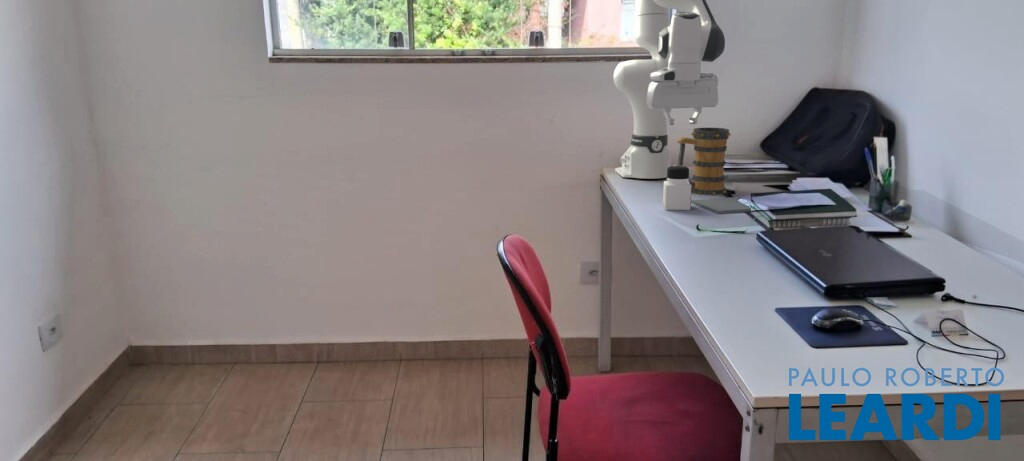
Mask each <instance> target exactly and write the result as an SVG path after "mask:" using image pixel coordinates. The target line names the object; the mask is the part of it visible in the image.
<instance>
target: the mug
mask: <svg viewBox="0 0 1024 461" xmlns="http://www.w3.org/2000/svg"><path fill="white" fill-rule="evenodd" d="M690 135H691V136H692V137H685V136H684V137H683V136H682V137H680V138H679V139H677V140H676V142H677V144H680V145H679V146H680V147H679V154H678V159H677V160H678V162H677V165H679V166H684V158H685V157H684V156H685V150H686V144H688V145H693V150H694V154H695V155H694V156H695V157H694V160H693V161H692V164H693V165H694V172H693V175H692V181H691V180H690V181H688V182H689V183H690V184H691V186H692V192H691V193H694V194H697V195H712V196H713V195H714V196H715V195H720V194H722V195H724V194H727V193H726V192H727V190H726V189H727V188H726V187H725V181H726V176H725V174H724V172H725V171H724V170H725V167H724V166H726V165H727V162H726V160H725V157H726V156H725V155H726V154H725V153H726V152H727V148H728V146H727V141H728V139H729V137H730V136H731V135H732V133H731V132H730V129H728V128H723V127H722V128H721V127H697V128H693V131H692V133H690Z"/></svg>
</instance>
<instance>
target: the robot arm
mask: <svg viewBox="0 0 1024 461" xmlns="http://www.w3.org/2000/svg"><path fill="white" fill-rule="evenodd" d="M669 9H670V10H676V11H679V12H676V13H674V14H673V15H672V16H671V19H670V18H669V14H670V13H669V12H670V11H669ZM669 19H670V20H669ZM669 22H670V23H669ZM634 39H635V42H636V44H637V45H638V46H639V47H641V48H642V49H644V50H647V51H648V52H649V54H650V56H651V59H648V58H647V59H631V60H630V59H629V60H624V61H621V62H619V63H618V64H617V65H616V67H615V68H614V72H613V76H612V78H613V79H612V80H613V83H614V86H615V88H616V89H617V90H618V91H619V92H621V93H622V94H623V95H624V96H625V97H626V99H627V100H628V102H629V103H630V107H631V109H632V114H633V115H632V116H633V117H632V118H633V134H632V135H631V138H630V146H629V147H628V148H627V150H626V151H625V152H624V153H623V154H622V156H620V158H619V162H620V163H621V166H620V167H615V170H614V171H615V172H616V173H618V175H620V176H621V177H623V178H633V179H634V178H635V179H649V180H651V179H652V180H654V179H664V178H666V179H667V168H668V167H670V166H672V159H671V150H670V149H668V147H667V146H668V141H669V137H668V134H667V132H668V131H667V129H668V126H674V125H675V119H674V118H672V117H671V114H670V113H672V109H692V110H693V114H692V117H689V125H697V124H698V119H699V117H700V115H701V113H702V112H703V110H702V109H703V108H715V107H717V106H718V105H719V91H718V85H719V78H718V77H717V75H715V73H711V72H709V73H705V72H704V73H702V72H701V71H702V62H708V63H711V62H714V61H716V60H717V59H718V58H719V57H720V56H721V55H722V54H723V53H724V51H725V47H726V39H725V35H724V32H723V30H722V29H721V27H720V26H719V24H718V23H717V21H716V20H715V17H714V15H713V13H712V11H711V9H710V7H709V5H708V3H707V0H635V5H634Z"/></svg>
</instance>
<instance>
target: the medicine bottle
mask: <svg viewBox="0 0 1024 461" xmlns="http://www.w3.org/2000/svg"><path fill="white" fill-rule="evenodd" d="M689 174H690V168H689V167H687V166H686V165H683V166H679V165H678V164H676V165H675V164H674V165H671V166H670V167H668V168H667V177H666V180H664V181H663V186H662V187H663V191H662V192H663V193H662V194H663V195H662V206H663V208H664V210H665V211H691V210H692V208H691V207H692V203H691V200H692V193H693V192H692V186H691V184H690V183H689V182H688V181H689V179H690V176H689Z"/></svg>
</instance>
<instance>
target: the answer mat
mask: <svg viewBox="0 0 1024 461" xmlns="http://www.w3.org/2000/svg"><path fill="white" fill-rule="evenodd" d="M741 198H742V197H741V196H734V197H718V198H717V197H716V198H703V199H702V198H701V199H691V204H693V205H695V206H697V207H699V208H702V209H705V210H707V211H709V212H712V213H715V214H717V215H718V214H719V215H721V214H722V215H723V214H734V213H737V214H738V213H750V212H752V211H751V208H750V207H749V206H747V205H745V204H742V203H740V202H739V201H738V200H739V199H741Z"/></svg>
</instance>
